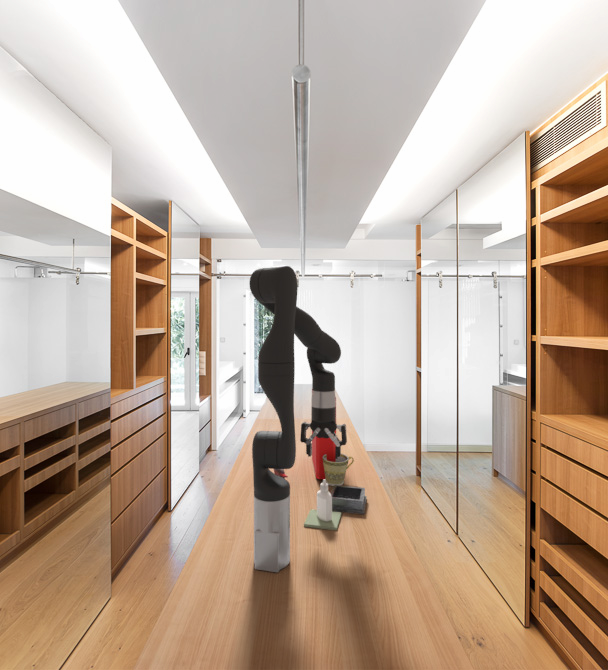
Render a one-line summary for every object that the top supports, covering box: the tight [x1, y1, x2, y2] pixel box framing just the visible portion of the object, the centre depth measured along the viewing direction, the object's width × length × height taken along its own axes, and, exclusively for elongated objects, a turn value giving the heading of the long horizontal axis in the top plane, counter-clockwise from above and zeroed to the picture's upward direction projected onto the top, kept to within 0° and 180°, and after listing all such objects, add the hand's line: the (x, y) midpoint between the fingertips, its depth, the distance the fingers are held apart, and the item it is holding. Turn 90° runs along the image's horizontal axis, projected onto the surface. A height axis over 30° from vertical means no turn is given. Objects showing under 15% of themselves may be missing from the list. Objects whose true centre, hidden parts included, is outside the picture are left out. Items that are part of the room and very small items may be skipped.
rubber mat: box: [303, 508, 342, 531], centre depth 122 cm, size 10×10×1 cm
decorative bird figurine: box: [273, 469, 289, 479], centre depth 150 cm, size 3×18×10 cm, turn 21°
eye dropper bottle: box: [316, 479, 332, 522], centre depth 122 cm, size 4×6×12 cm
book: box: [311, 429, 337, 480], centre depth 168 cm, size 27×8×32 cm, turn 3°
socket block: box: [330, 485, 368, 515], centre depth 133 cm, size 12×12×4 cm
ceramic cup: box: [323, 453, 355, 487], centre depth 152 cm, size 13×10×10 cm
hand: (323, 457), depth 122 cm, fingers open, 8 cm apart
